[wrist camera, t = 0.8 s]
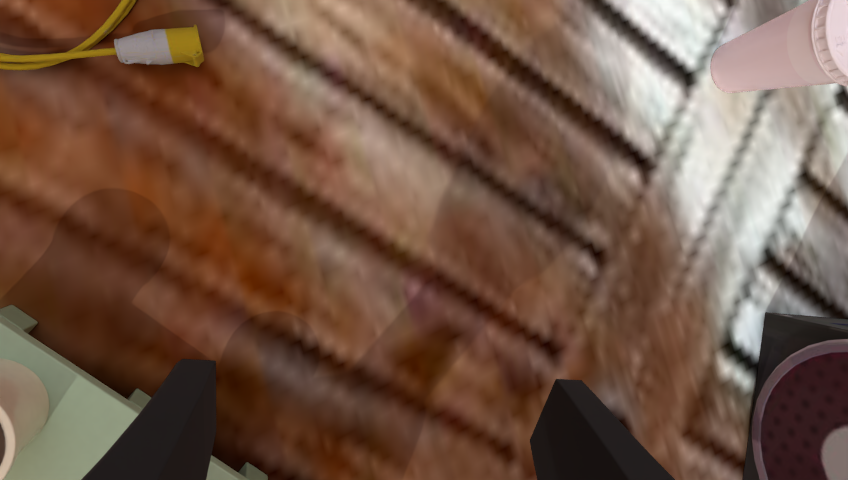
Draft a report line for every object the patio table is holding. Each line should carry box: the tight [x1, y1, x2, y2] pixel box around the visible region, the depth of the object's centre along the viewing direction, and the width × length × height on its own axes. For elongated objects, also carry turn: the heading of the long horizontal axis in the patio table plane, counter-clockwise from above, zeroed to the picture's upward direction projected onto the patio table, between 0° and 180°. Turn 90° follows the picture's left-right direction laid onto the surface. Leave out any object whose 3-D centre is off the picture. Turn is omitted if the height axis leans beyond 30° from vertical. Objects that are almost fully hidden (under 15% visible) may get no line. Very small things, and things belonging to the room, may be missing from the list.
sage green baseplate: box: [0, 305, 268, 480], centre depth 29 cm, size 7×17×3 cm, turn 49°
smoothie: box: [711, 0, 848, 93], centre depth 34 cm, size 6×6×14 cm
